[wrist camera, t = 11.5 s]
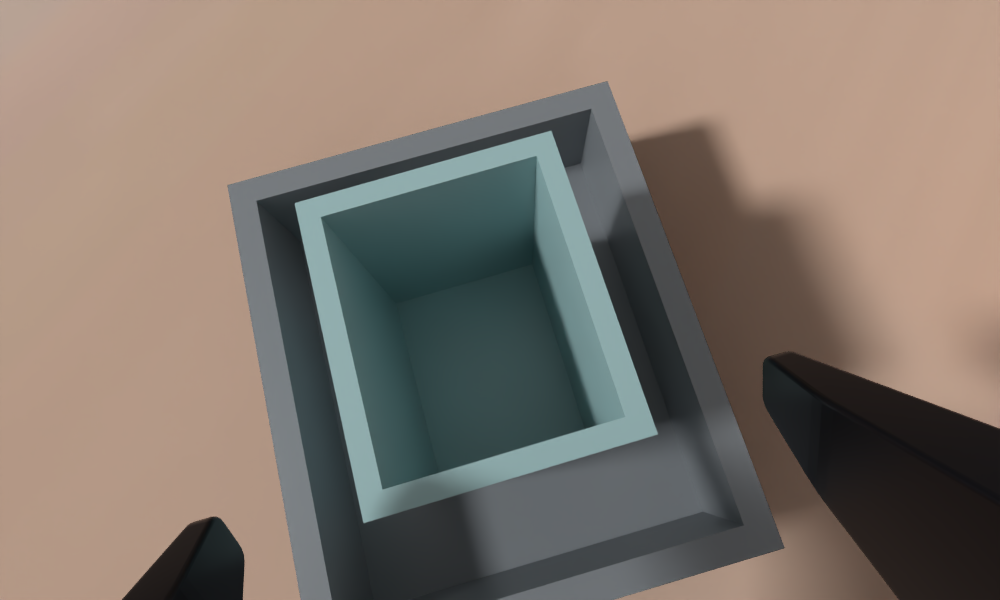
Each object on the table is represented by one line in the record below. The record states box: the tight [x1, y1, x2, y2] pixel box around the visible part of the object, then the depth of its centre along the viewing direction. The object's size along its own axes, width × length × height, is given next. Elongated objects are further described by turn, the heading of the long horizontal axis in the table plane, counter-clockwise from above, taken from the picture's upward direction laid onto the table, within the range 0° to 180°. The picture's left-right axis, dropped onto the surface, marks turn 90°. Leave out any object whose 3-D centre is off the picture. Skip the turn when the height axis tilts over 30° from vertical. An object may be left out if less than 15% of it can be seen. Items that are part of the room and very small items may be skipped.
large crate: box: [228, 81, 784, 600], centre depth 19 cm, size 15×13×4 cm
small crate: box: [295, 131, 658, 523], centre depth 16 cm, size 7×6×8 cm
